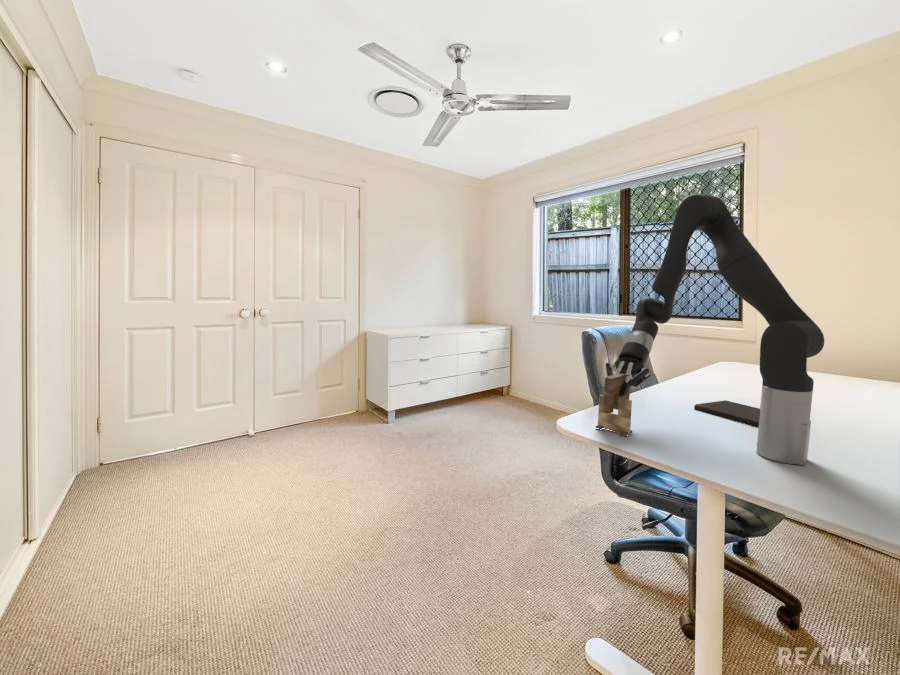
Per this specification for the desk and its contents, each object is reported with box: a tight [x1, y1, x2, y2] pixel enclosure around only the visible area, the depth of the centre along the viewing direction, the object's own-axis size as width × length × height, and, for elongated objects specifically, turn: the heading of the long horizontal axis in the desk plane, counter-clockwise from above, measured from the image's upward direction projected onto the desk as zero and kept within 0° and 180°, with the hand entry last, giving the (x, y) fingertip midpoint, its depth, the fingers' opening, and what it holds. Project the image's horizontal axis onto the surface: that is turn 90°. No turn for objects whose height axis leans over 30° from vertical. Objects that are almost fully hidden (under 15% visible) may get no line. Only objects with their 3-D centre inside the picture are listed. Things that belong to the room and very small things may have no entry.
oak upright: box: [595, 394, 633, 437], centre depth 113 cm, size 9×4×10 cm, turn 42°
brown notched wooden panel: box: [603, 373, 631, 414], centre depth 114 cm, size 2×12×10 cm, turn 132°
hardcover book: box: [693, 399, 760, 429], centre depth 128 cm, size 16×23×2 cm
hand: (616, 394), depth 114 cm, fingers closed on brown notched wooden panel, 2 cm apart
